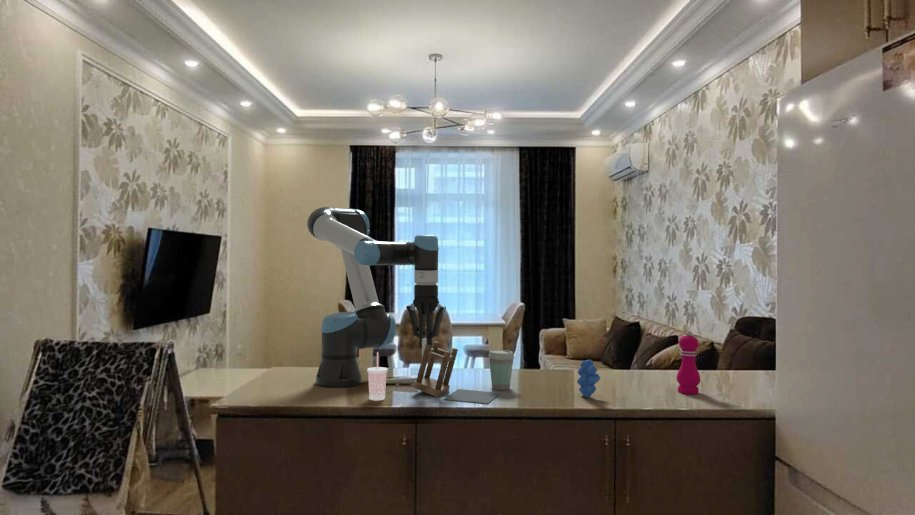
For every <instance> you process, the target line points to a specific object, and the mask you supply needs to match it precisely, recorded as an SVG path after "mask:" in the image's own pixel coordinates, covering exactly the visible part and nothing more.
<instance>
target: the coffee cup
mask: <svg viewBox="0 0 915 515" xmlns="http://www.w3.org/2000/svg"><path fill="white" fill-rule="evenodd" d="M487 358H488V360H489V361H488V362H489V368H490V371H489V372H490V379H491V388H492V389H493V390H497V391H506V390H509V389H510V388H511V382H512V381H511V380H512V375H513V374H512V372H513V365H514V359H515V355H514V351H512V350H508V349H493V350H490V351H489V354H488V357H487Z"/></svg>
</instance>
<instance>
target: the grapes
mask: <svg viewBox="0 0 915 515" xmlns="http://www.w3.org/2000/svg"><path fill="white" fill-rule="evenodd" d="M579 366H580V368H579V369H578V370H577V374H578V375H579V376H580V377H578V379H577V381H576V382H577V384H578V385H579V389H578V391H579V392H580V394H581V395H583V396H584V397H585V398H587V397H588V398H591V396H592V395H593V394H594V393H595V392H596V390H597V387H596V386H595V385H596V384H597V383H598V382H600V380H601V376H600V374H598V373H597V372H598V369H597V367H596V366H595V364H594V362H593V360H592V359H585V360H583V361H581V363H580V364H579Z"/></svg>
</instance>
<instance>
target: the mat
mask: <svg viewBox="0 0 915 515" xmlns="http://www.w3.org/2000/svg"><path fill="white" fill-rule="evenodd" d="M500 395H501V392H495V391H484V390H483V391H482V390H473V389H472V390H471V389H464V388H463V389H461V388H459V389H457V390H455V391H453V392H451V393H450V394H449V395H447V396H445V397H444V398H442V400H443V401H452V402H462V403H471V404H482V405H489V404H490V403H492V402H493V401H494V400H495V399H496V398H497V397H498V396H500Z"/></svg>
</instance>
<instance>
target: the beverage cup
mask: <svg viewBox="0 0 915 515" xmlns="http://www.w3.org/2000/svg"><path fill="white" fill-rule="evenodd" d="M388 369H389V368H388V367H383V366H379V351H377V352H376V366H372V367H368V368H367V369H366V370H367V371H366V372H367V376H368V379H367V380H368V400H371V401H383V400H385V399H386V388H387V387H386V386H387V385H386V384H387V373H388V371H389V370H388Z"/></svg>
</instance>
